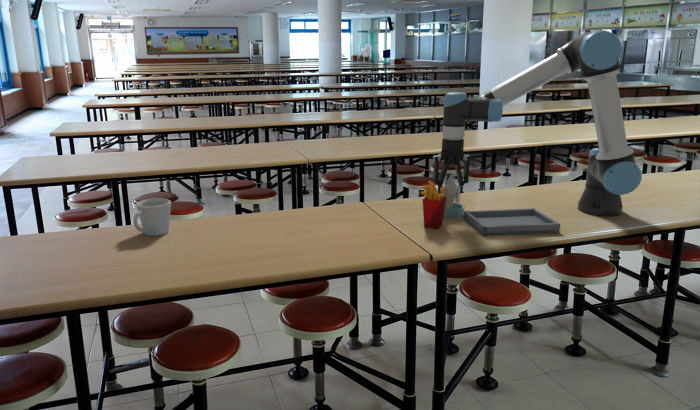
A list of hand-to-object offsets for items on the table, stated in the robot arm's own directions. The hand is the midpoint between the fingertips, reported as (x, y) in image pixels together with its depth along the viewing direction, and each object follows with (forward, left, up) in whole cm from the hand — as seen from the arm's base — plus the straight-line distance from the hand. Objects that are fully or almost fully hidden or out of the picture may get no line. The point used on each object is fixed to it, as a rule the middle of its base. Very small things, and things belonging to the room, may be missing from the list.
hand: (449, 202), depth 198 cm
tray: (-16, +16, -4) cm, 23 cm away
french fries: (+11, +13, -4) cm, 18 cm away
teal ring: (0, 0, -4) cm, 4 cm away
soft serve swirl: (0, 0, -4) cm, 4 cm away
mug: (+101, +9, -4) cm, 102 cm away
